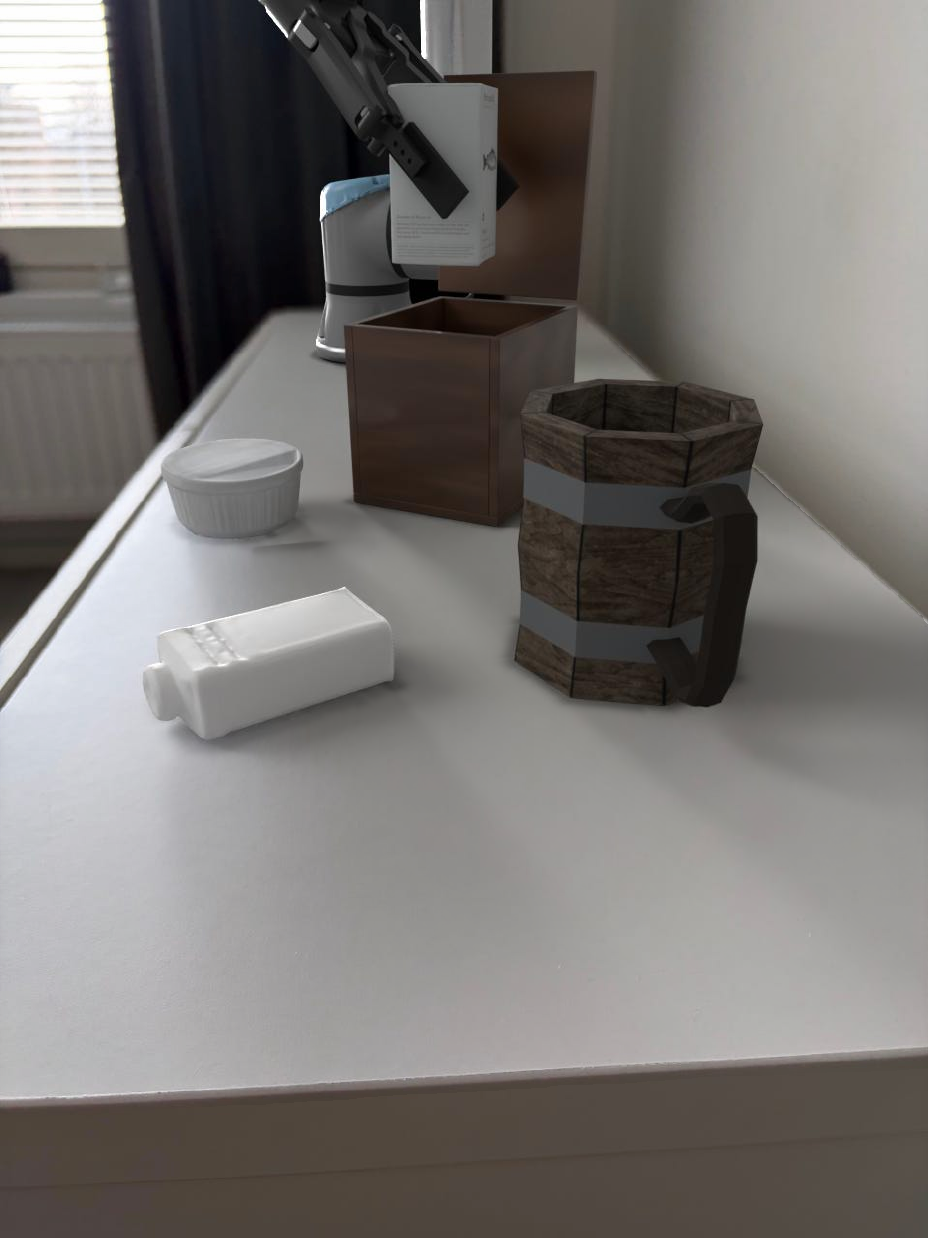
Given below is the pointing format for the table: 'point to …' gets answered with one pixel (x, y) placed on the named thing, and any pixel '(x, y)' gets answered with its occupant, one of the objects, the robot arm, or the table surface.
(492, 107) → the white packaging box
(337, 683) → the white bottle
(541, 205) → the lid
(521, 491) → the chest
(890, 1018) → the table surface
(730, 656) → the mug
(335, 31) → the robot arm
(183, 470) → the ramekin
